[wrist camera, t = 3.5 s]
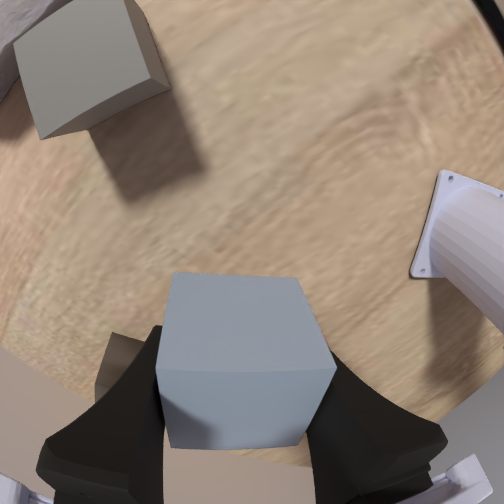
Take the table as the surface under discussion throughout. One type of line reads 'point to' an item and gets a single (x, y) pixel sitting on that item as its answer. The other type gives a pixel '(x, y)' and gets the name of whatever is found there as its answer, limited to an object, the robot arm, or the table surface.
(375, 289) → the table surface
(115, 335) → the ebony cube
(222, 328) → the slate blue cube
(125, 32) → the grey cube
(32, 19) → the stone block
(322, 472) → the robot arm
